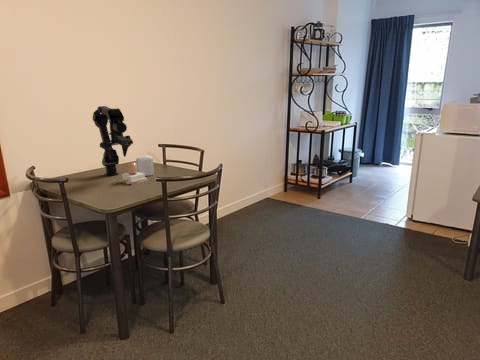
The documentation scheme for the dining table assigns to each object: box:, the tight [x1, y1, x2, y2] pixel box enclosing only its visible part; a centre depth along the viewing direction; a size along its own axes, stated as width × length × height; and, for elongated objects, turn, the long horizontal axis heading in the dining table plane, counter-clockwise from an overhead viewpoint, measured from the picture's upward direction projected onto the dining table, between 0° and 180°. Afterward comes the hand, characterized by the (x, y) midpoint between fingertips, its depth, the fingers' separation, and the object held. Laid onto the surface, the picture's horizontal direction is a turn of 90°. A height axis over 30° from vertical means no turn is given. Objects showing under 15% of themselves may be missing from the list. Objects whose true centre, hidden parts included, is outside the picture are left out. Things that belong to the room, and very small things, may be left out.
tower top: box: [121, 172, 146, 181], centre depth 208 cm, size 9×9×2 cm
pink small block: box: [126, 161, 138, 174], centre depth 208 cm, size 5×5×6 cm
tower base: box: [119, 176, 149, 186], centre depth 209 cm, size 11×11×2 cm
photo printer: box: [135, 155, 155, 177], centre depth 220 cm, size 10×4×12 cm, turn 123°
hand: (118, 157), depth 209 cm, fingers open, 9 cm apart
